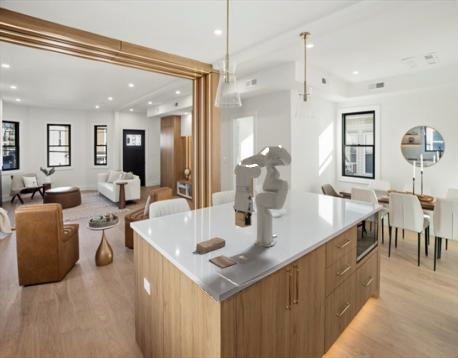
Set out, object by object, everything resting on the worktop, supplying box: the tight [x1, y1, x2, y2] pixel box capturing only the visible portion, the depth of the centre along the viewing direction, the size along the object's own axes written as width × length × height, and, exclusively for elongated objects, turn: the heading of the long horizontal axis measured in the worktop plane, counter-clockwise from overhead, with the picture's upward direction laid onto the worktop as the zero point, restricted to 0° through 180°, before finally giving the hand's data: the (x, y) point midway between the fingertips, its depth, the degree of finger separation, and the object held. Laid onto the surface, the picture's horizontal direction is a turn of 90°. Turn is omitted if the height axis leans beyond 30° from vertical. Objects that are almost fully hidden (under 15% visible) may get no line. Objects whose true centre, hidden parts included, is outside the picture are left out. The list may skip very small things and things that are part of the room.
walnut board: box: [208, 254, 238, 269], centre depth 131 cm, size 9×12×1 cm
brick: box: [195, 236, 226, 254], centre depth 152 cm, size 17×8×5 cm, turn 134°
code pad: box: [228, 251, 259, 265], centre depth 136 cm, size 11×11×1 cm
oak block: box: [234, 211, 252, 229], centre depth 134 cm, size 6×6×7 cm
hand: (243, 223), depth 134 cm, fingers closed on oak block, 6 cm apart
